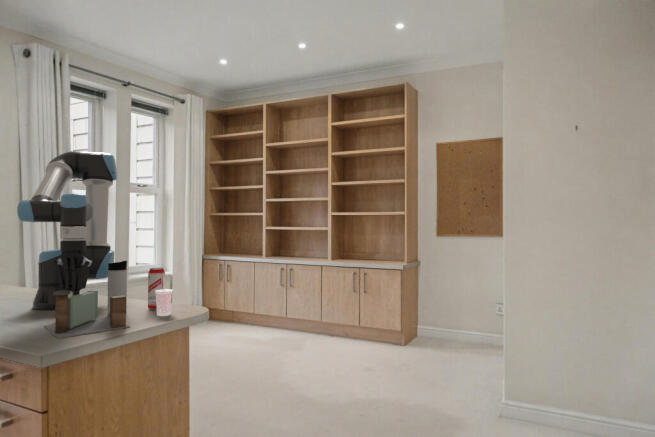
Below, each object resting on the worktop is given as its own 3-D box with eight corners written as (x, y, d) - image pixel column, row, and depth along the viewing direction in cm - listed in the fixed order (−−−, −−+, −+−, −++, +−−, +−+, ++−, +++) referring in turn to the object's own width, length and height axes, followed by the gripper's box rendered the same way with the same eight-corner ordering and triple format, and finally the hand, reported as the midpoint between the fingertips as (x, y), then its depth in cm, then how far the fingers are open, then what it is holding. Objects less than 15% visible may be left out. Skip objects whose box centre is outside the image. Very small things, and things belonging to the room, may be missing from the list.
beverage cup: (160, 317, 154) (160, 278, 155) (151, 314, 158) (152, 276, 159) (175, 314, 159) (176, 276, 159) (167, 312, 163) (167, 275, 163)
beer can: (152, 307, 172) (152, 267, 172) (167, 307, 172) (167, 267, 172) (144, 310, 166) (145, 269, 166) (160, 310, 166) (161, 269, 166)
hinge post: (51, 333, 131) (52, 291, 131) (68, 331, 134) (68, 290, 134) (54, 336, 128) (55, 293, 128) (71, 333, 131) (72, 291, 131)
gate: (61, 328, 133) (61, 298, 133) (89, 318, 148) (89, 290, 148) (70, 328, 133) (70, 298, 133) (97, 318, 148) (97, 290, 148)
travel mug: (119, 317, 153) (120, 261, 154) (103, 316, 155) (104, 261, 155) (131, 314, 160) (131, 260, 160) (115, 313, 161) (115, 259, 161)
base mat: (44, 326, 140) (44, 325, 140) (110, 317, 154) (110, 316, 154) (58, 338, 125) (58, 337, 125) (129, 327, 139) (129, 326, 139)
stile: (109, 327, 139) (109, 296, 139) (122, 325, 142) (122, 295, 142) (112, 329, 136) (113, 298, 136) (125, 327, 139) (126, 296, 139)
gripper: (47, 240, 141) (46, 312, 140) (83, 240, 139) (82, 313, 139) (63, 239, 148) (63, 307, 148) (98, 239, 147) (98, 308, 146)
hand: (72, 310), depth 143 cm, fingers closed
